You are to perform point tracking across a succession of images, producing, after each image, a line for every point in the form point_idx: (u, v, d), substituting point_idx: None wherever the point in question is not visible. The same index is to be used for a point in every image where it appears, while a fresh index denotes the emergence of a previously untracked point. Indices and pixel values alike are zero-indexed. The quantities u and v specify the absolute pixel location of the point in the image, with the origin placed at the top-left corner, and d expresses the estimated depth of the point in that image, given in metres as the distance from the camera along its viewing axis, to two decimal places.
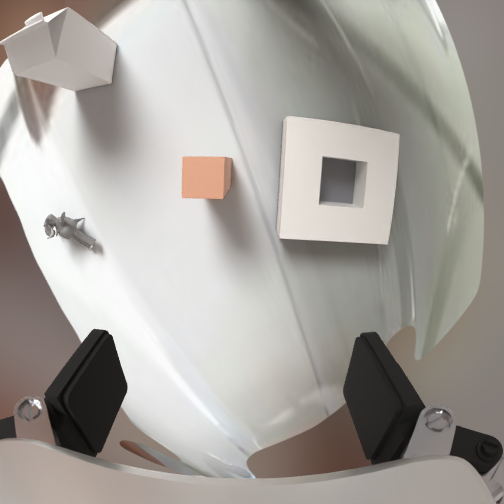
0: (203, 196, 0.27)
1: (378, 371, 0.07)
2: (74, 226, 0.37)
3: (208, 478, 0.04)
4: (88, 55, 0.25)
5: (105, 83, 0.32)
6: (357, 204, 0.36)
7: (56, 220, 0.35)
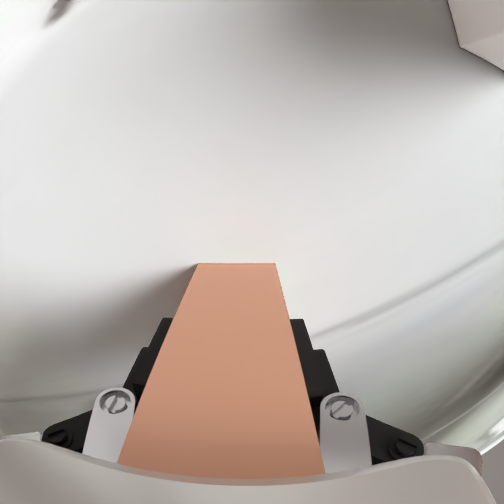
0: None
1: None
2: None
3: (208, 478, 0.04)
4: None
5: (463, 35, 0.10)
6: None
7: None
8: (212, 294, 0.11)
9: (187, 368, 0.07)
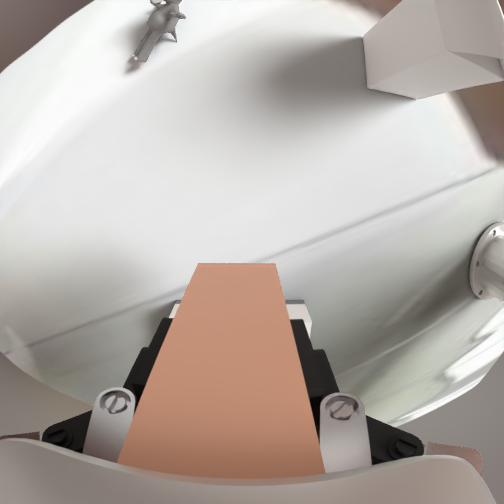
0: None
1: None
2: (164, 31, 0.21)
3: (208, 478, 0.04)
4: (421, 77, 0.19)
5: (369, 81, 0.25)
6: None
7: (174, 5, 0.19)
8: (213, 293, 0.12)
9: (188, 368, 0.07)
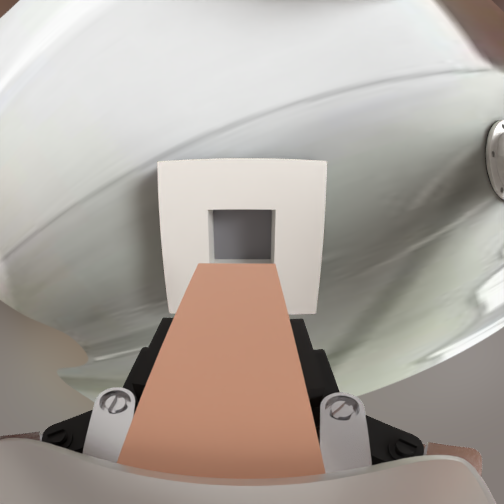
0: None
1: None
2: None
3: (208, 478, 0.04)
4: None
5: None
6: None
7: None
8: (212, 293, 0.11)
9: (187, 368, 0.07)
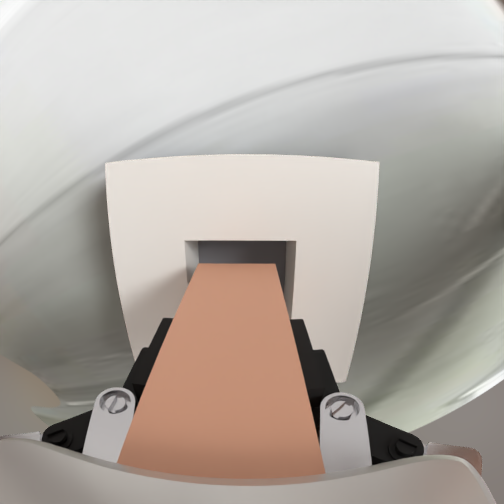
0: None
1: None
2: None
3: (208, 478, 0.04)
4: None
5: None
6: None
7: None
8: (212, 294, 0.11)
9: (187, 368, 0.07)
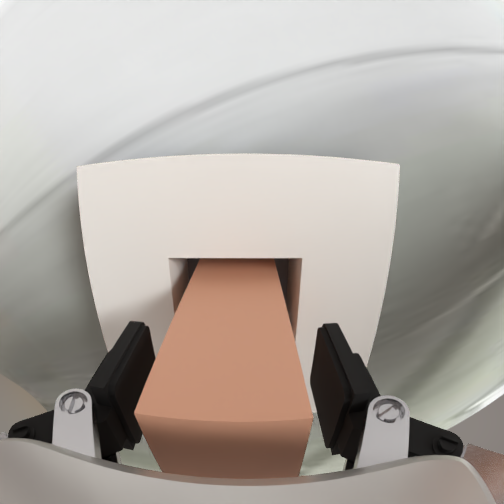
0: (161, 459, 0.06)
1: (333, 359, 0.08)
2: None
3: (208, 478, 0.04)
4: None
5: None
6: None
7: None
8: (216, 275, 0.13)
9: (197, 329, 0.09)
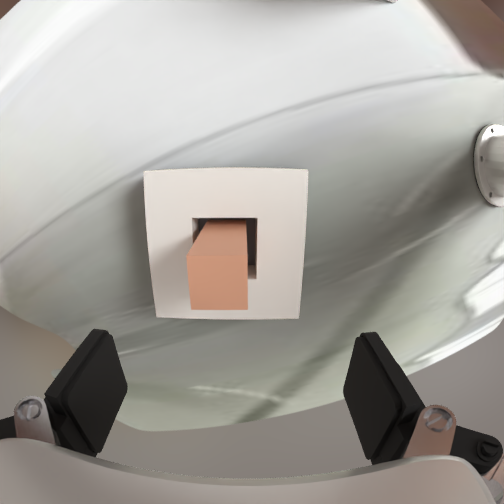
0: (191, 285, 0.19)
1: (378, 371, 0.07)
2: None
3: (208, 478, 0.04)
4: None
5: None
6: None
7: None
8: (215, 227, 0.27)
9: (207, 240, 0.22)
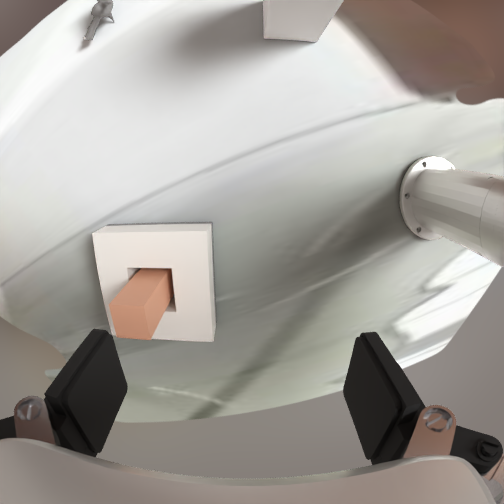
0: (114, 322, 0.27)
1: (378, 371, 0.07)
2: (102, 15, 0.25)
3: (208, 478, 0.04)
4: (288, 13, 0.22)
5: (263, 32, 0.28)
6: None
7: None
8: (144, 273, 0.34)
9: (129, 289, 0.30)
